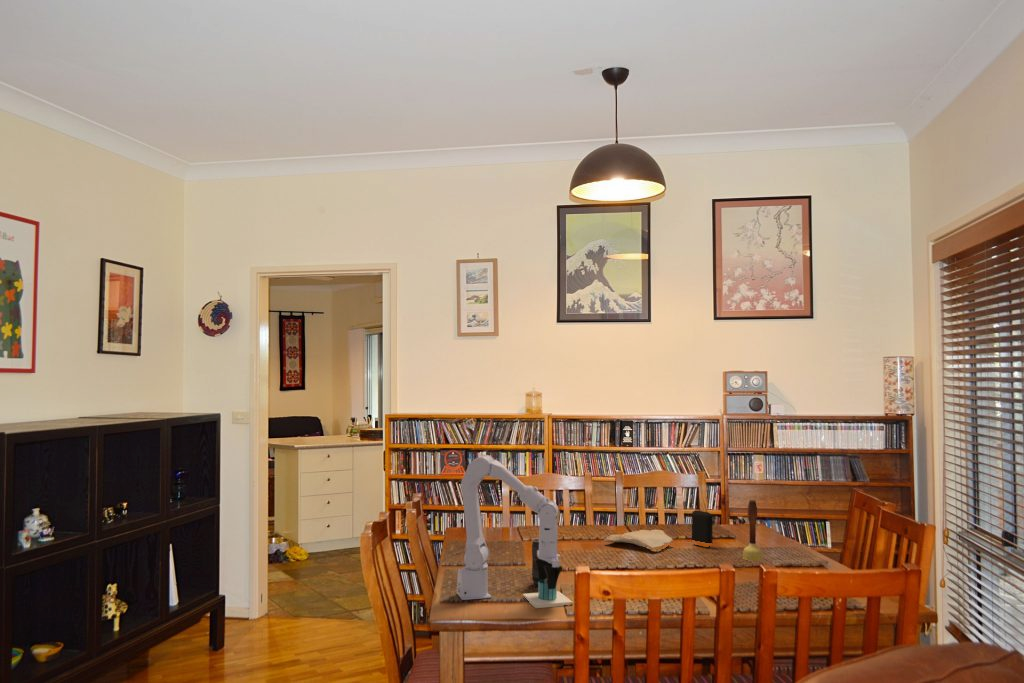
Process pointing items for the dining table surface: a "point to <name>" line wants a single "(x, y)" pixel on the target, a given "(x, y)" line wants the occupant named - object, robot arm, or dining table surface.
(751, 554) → the handbell
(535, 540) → the camera lens
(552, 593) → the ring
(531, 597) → the white base with peg
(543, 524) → the robot arm
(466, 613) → the dining table surface
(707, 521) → the carrying case or bag
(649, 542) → the beige curved shard
